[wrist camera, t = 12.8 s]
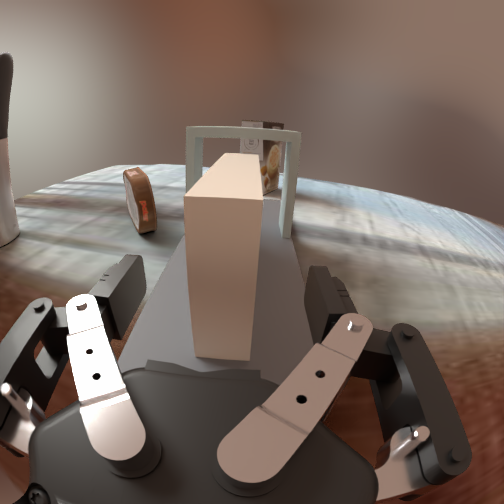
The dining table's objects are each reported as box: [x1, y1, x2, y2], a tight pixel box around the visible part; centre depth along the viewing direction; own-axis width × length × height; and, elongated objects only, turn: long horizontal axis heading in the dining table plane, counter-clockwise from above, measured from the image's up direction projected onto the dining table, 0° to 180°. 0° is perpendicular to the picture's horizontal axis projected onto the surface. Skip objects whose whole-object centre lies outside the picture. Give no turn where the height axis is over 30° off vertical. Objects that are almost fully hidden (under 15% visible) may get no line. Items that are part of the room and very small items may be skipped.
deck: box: [118, 199, 334, 421], centre depth 31 cm, size 13×39×2 cm, turn 179°
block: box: [184, 153, 263, 361], centre depth 21 cm, size 3×17×10 cm, turn 179°
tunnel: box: [186, 126, 302, 238], centre depth 32 cm, size 13×5×13 cm, turn 89°
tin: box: [123, 167, 157, 233], centre depth 38 cm, size 15×3×8 cm, turn 32°
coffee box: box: [240, 120, 284, 195], centre depth 58 cm, size 9×6×16 cm
